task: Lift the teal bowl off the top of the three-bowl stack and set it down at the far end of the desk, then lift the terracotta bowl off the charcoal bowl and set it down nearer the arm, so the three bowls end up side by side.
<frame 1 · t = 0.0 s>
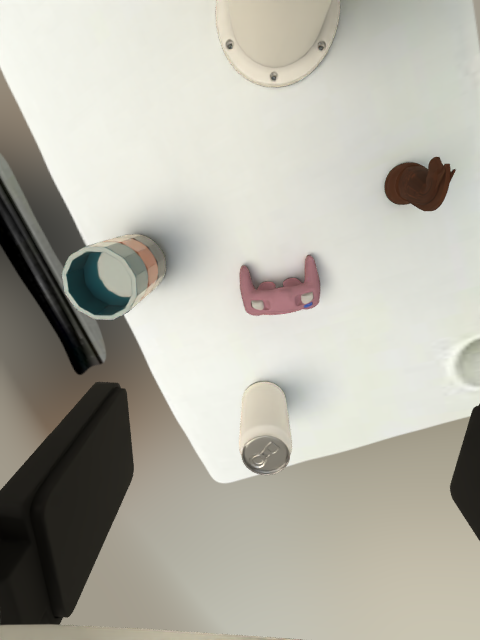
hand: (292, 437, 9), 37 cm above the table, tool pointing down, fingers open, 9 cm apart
chess piece: (402, 186, 41), on the table
top bowl: (120, 273, 38), point 8 cm above the table, touching middle bowl
bottom bowl: (142, 261, 45), on the table, touching middle bowl
middle bowl: (132, 266, 42), point 4 cm above the table, touching bottom bowl, top bowl
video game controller: (278, 280, 46), on the table
can: (263, 398, 52), on the table
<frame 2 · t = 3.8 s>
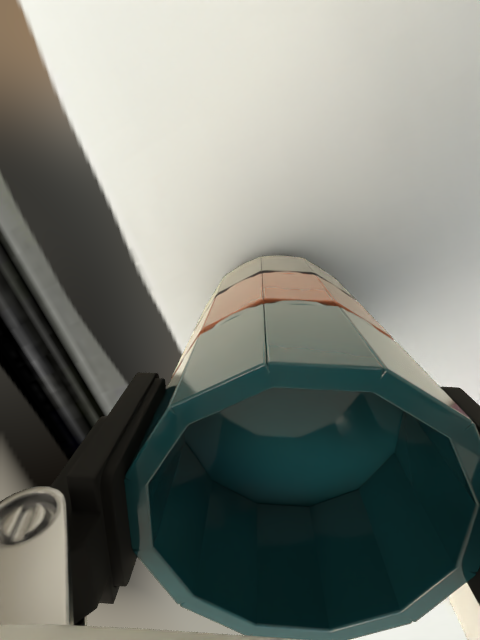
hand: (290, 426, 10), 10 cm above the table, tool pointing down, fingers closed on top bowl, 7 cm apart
top bowl: (285, 387, 12), point 8 cm above the table, touching gripper, middle bowl
bottom bowl: (274, 315, 19), on the table, touching middle bowl
middle bowl: (278, 343, 15), point 4 cm above the table, touching bottom bowl, top bowl
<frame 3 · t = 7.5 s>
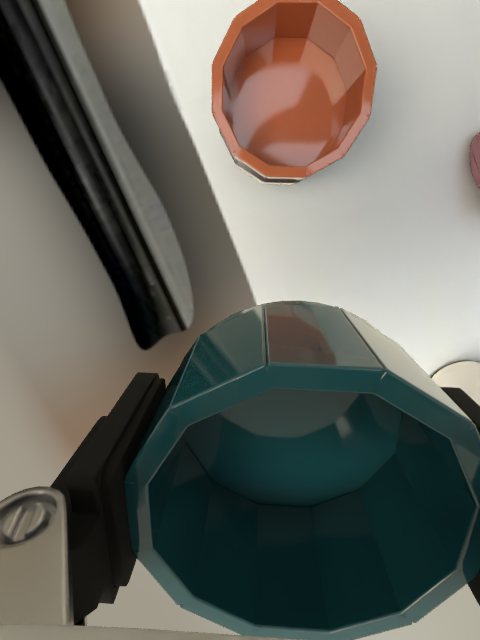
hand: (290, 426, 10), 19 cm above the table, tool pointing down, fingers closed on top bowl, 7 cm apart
top bowl: (285, 387, 12), point 17 cm above the table, touching gripper
bottom bowl: (278, 130, 24), on the table, touching middle bowl
middle bowl: (283, 116, 20), point 4 cm above the table, touching bottom bowl
can: (457, 390, 30), on the table
when the fingers open (2 cm above the table, at t = 11.6 s): top bowl stays where it is, on the table.
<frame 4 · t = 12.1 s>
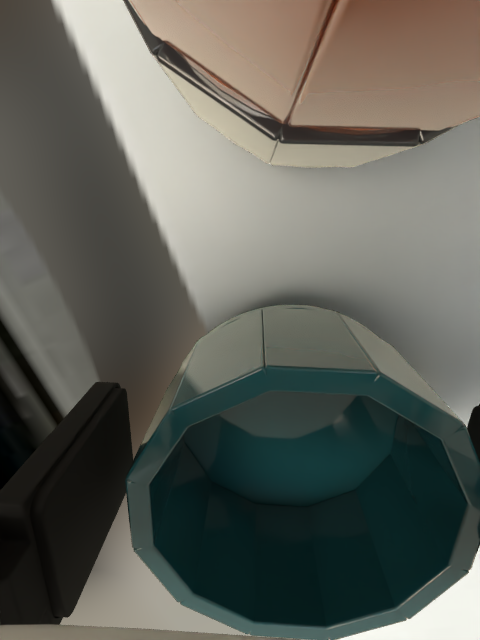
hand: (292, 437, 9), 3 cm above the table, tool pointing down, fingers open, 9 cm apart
top bowl: (283, 389, 12), on the table
bottom bowl: (313, 15, 9), on the table, touching middle bowl
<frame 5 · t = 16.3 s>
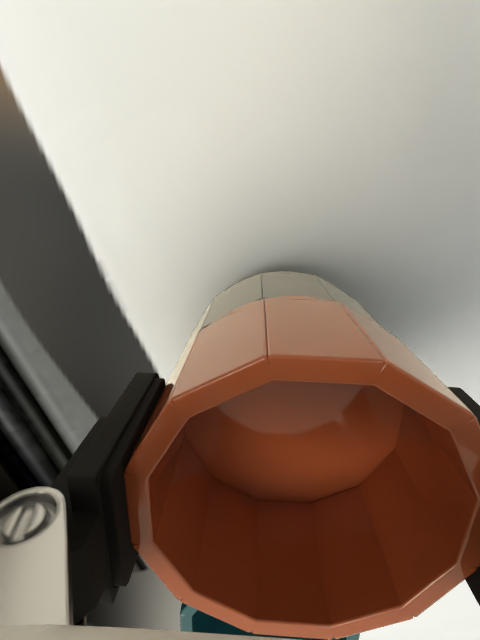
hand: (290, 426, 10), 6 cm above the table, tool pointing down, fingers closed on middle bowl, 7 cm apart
top bowl: (265, 519, 19), on the table
bottom bowl: (278, 343, 16), on the table, touching middle bowl
middle bowl: (285, 383, 12), point 4 cm above the table, touching bottom bowl, gripper
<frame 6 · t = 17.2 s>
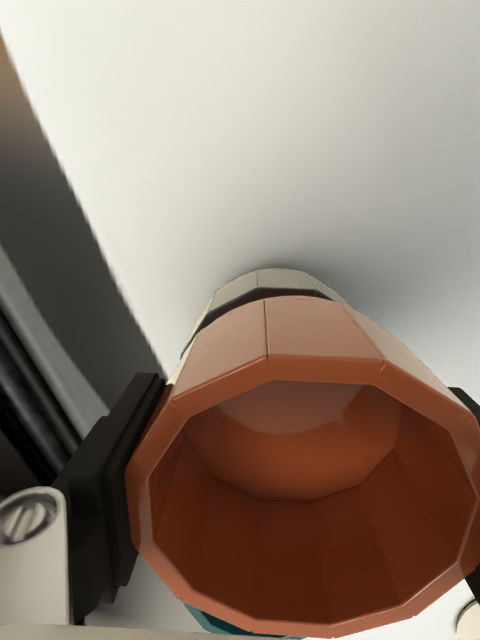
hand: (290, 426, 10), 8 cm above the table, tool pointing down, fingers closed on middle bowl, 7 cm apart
top bowl: (258, 500, 21), on the table
bottom bowl: (271, 332, 18), on the table
middle bowl: (285, 383, 12), point 6 cm above the table, touching gripper
when the fingers open (2 cm above the table, at t = 23.9 s): middle bowl stays where it is, on the table.
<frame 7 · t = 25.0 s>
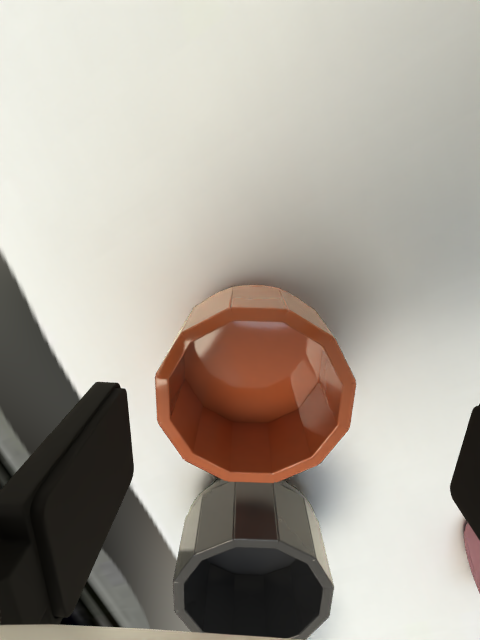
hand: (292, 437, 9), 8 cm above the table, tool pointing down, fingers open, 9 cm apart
bottom bowl: (250, 503, 21), on the table
middle bowl: (251, 346, 18), on the table
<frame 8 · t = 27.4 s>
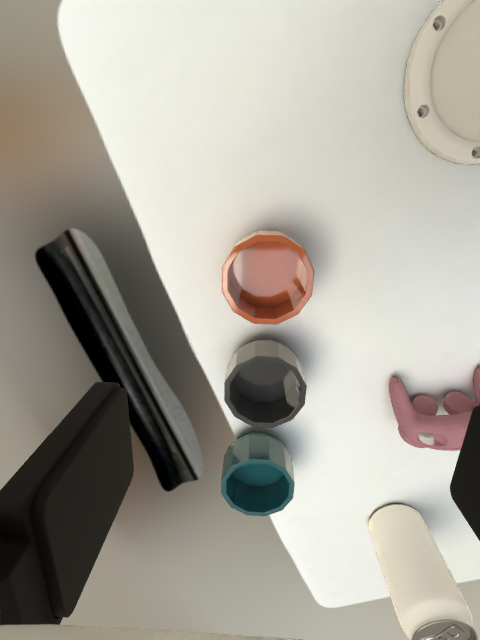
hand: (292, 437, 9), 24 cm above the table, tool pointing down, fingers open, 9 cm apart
top bowl: (257, 451, 39), on the table
bottom bowl: (263, 365, 36), on the table
middle bowl: (265, 268, 32), on the table
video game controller: (433, 392, 36), on the table
can: (393, 520, 42), on the table
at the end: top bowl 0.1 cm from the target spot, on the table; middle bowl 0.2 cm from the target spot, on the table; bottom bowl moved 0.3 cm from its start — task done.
